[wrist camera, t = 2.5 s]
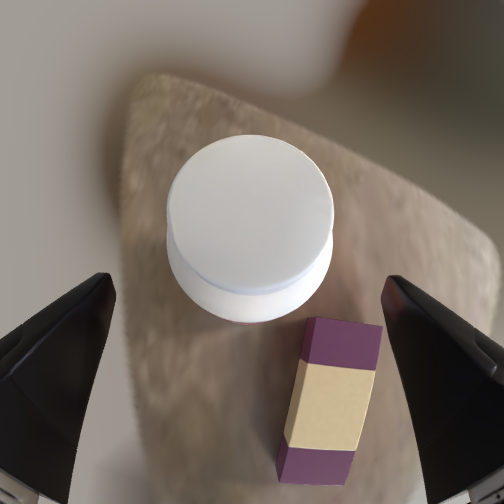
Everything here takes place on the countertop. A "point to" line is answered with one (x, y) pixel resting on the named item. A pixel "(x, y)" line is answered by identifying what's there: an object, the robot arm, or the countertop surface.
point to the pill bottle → (249, 228)
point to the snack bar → (328, 401)
